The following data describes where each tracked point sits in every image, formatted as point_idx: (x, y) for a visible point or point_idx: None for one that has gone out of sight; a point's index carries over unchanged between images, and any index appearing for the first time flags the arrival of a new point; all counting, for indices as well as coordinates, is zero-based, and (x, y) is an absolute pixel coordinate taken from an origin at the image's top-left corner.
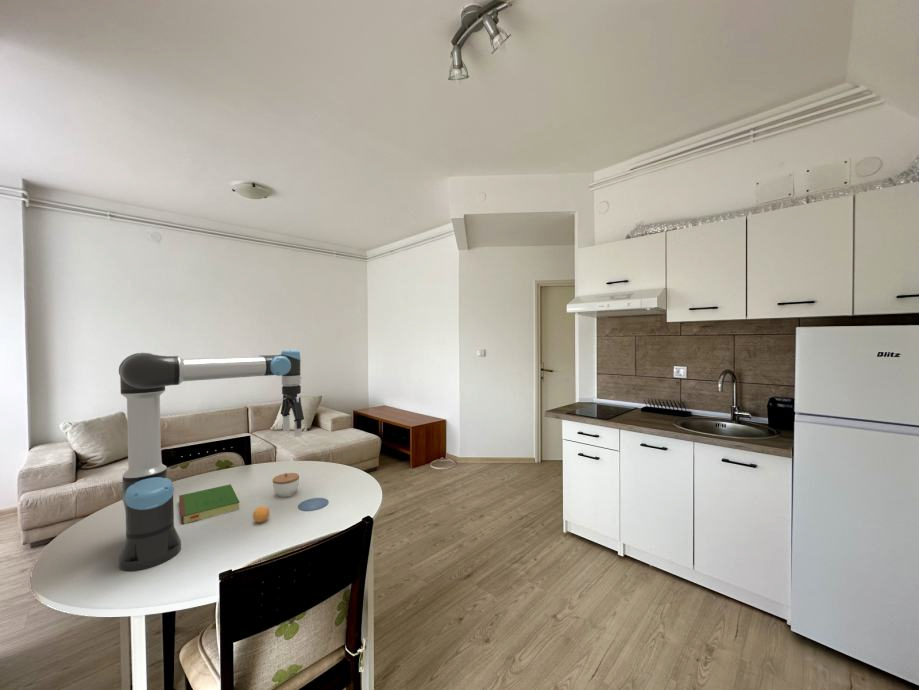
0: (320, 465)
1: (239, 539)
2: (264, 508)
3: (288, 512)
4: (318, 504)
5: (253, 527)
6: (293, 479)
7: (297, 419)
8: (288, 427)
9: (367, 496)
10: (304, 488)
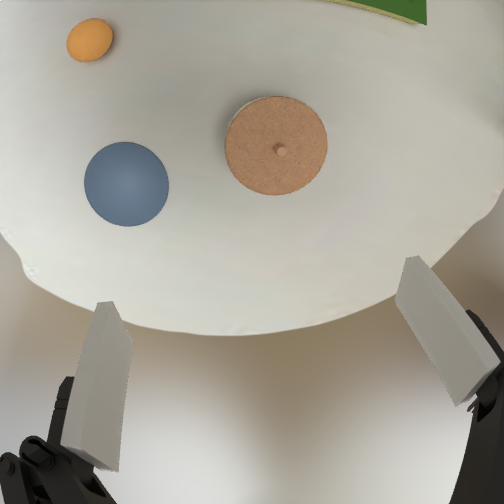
0: None
1: (39, 5)
2: (73, 48)
3: (109, 113)
4: (112, 198)
5: None
6: (229, 165)
7: (2, 461)
8: (408, 312)
9: None
10: None
